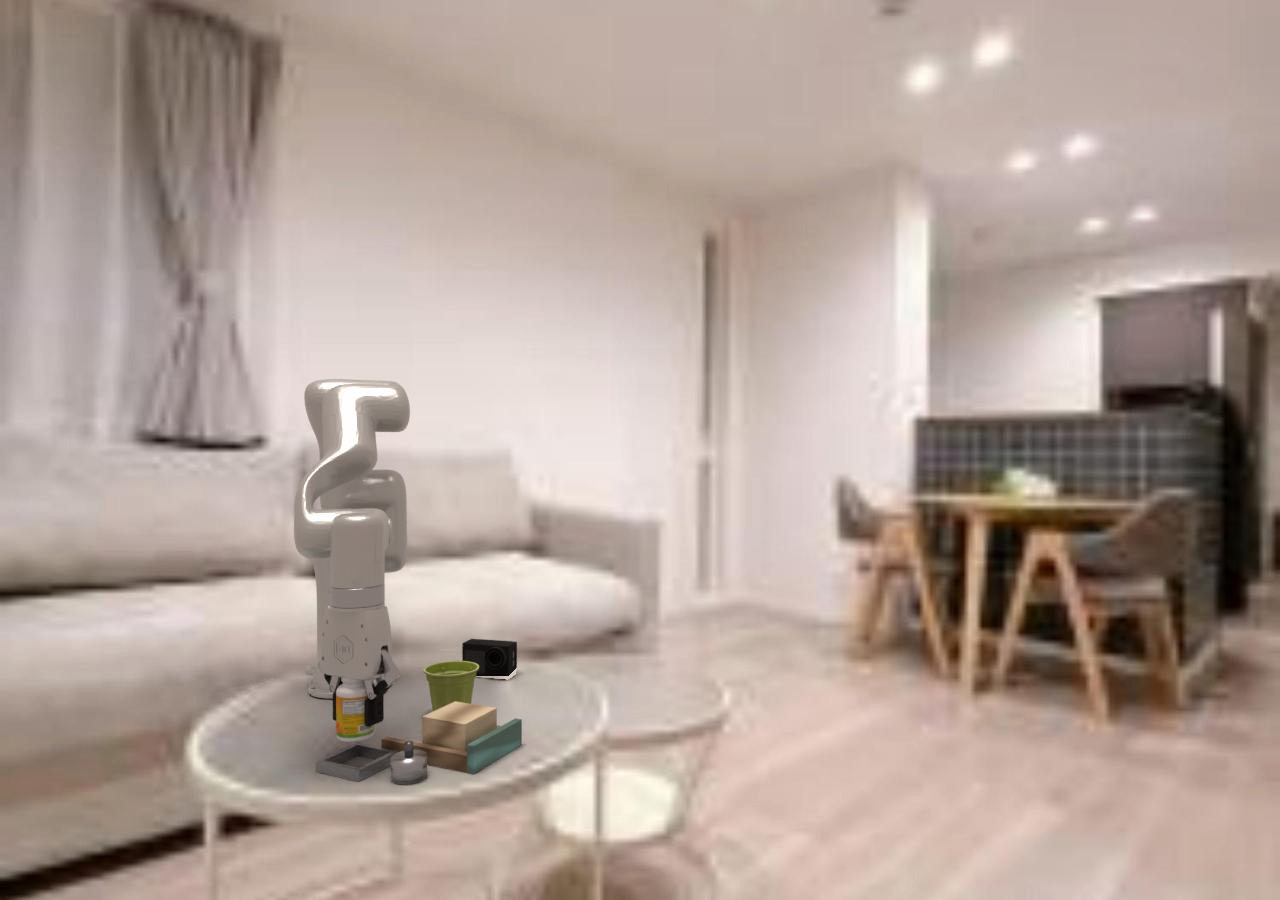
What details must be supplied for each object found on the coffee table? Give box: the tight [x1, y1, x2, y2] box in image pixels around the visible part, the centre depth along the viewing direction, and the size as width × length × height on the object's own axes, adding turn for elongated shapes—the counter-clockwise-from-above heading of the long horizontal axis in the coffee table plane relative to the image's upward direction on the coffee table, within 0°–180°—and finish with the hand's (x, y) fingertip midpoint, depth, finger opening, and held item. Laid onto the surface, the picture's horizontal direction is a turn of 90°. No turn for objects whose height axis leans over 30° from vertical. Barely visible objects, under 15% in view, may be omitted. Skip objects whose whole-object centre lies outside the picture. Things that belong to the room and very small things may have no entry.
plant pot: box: [423, 660, 479, 712], centre depth 138 cm, size 9×9×9 cm
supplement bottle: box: [335, 677, 376, 743], centre depth 117 cm, size 5×5×10 cm
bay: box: [380, 701, 523, 775], centre depth 123 cm, size 17×12×6 cm
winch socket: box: [315, 740, 428, 786], centre depth 115 cm, size 16×8×5 cm, turn 65°
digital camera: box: [461, 638, 518, 676], centre depth 163 cm, size 10×5×7 cm, turn 75°
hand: (358, 719), depth 117 cm, fingers closed on supplement bottle, 5 cm apart
